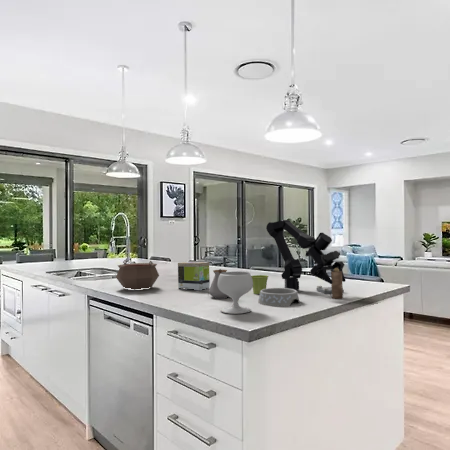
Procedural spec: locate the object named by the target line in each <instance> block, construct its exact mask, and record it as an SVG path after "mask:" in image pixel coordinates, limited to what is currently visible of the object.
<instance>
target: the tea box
mask: <svg viewBox="0 0 450 450" xmlns="http://www.w3.org/2000/svg"><path fill="white" fill-rule="evenodd" d="M210 279H211V277H210V262H209V261H183V262H178V263H177V280H178V283H177V285H178V286H177V287H178V288H185V289H184V290H187V289H194V290H193V291H203V290H202V289H205V290H207V289H206V288H209V289H210V287H211V284H210V283H211V282H210V281H211V280H210Z"/></svg>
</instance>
